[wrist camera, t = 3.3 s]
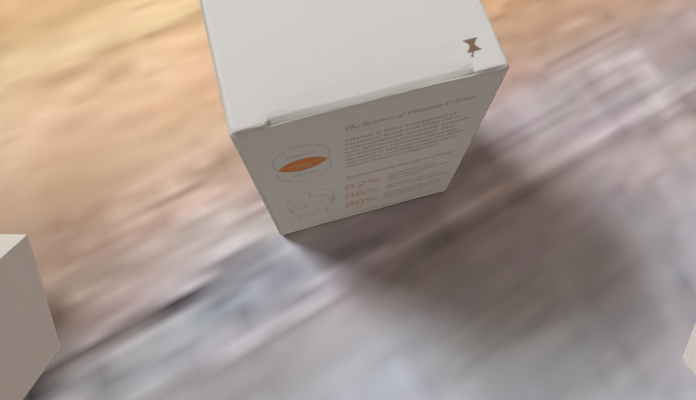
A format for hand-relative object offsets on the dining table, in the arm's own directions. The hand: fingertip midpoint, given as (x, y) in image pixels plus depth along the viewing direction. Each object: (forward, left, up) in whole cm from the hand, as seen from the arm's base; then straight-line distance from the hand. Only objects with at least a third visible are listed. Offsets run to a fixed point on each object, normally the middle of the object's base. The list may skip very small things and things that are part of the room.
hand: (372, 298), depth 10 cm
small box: (-3, +8, -12) cm, 15 cm away
